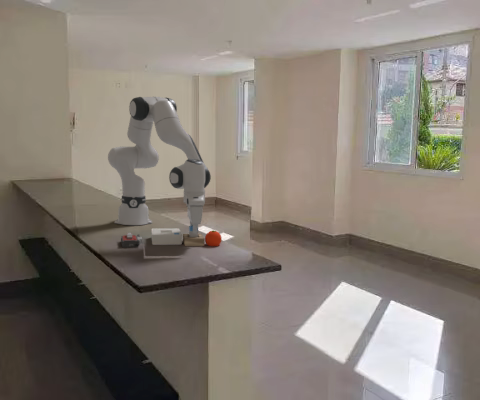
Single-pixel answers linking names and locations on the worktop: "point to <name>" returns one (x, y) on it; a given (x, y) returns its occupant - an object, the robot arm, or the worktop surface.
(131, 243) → the walkie-talkie
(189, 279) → the worktop surface
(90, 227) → the worktop surface
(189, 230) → the plug
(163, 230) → the port
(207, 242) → the clementine
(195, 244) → the holster
